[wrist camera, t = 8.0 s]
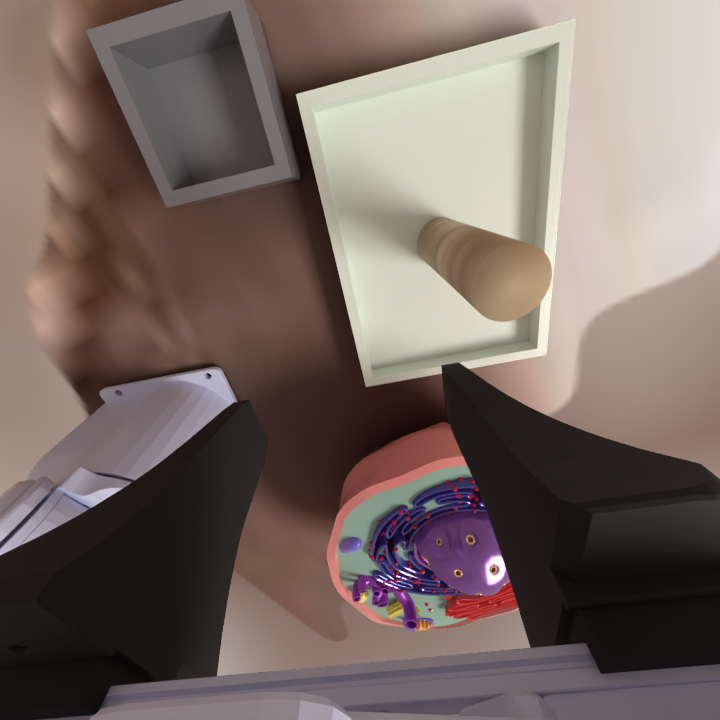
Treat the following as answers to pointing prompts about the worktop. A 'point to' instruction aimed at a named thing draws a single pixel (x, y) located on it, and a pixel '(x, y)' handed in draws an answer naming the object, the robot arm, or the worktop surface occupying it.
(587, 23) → the worktop surface
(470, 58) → the tray
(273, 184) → the grey square box
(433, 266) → the dowel
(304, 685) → the robot arm
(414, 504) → the cell model
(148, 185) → the worktop surface
